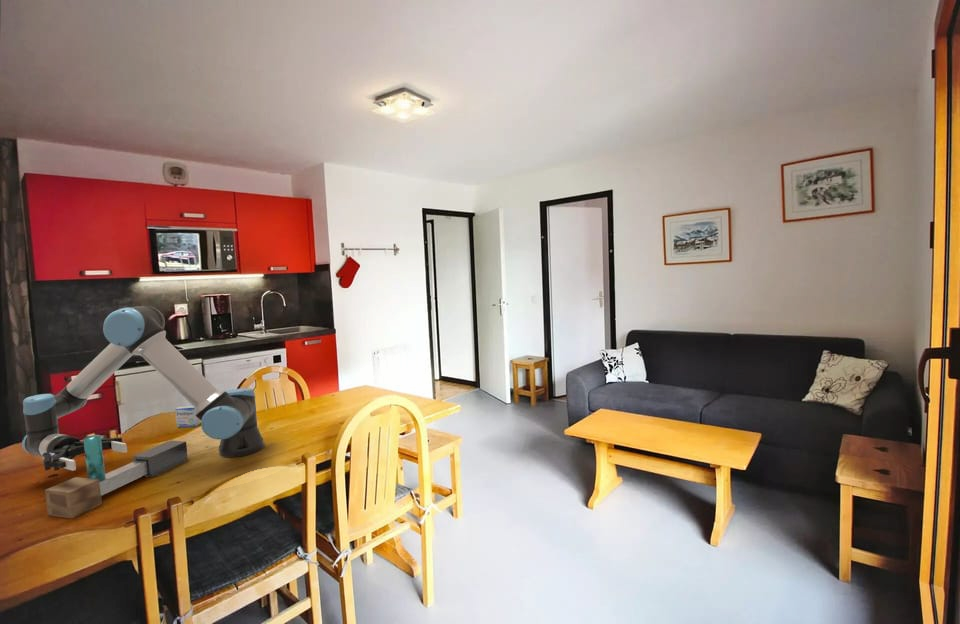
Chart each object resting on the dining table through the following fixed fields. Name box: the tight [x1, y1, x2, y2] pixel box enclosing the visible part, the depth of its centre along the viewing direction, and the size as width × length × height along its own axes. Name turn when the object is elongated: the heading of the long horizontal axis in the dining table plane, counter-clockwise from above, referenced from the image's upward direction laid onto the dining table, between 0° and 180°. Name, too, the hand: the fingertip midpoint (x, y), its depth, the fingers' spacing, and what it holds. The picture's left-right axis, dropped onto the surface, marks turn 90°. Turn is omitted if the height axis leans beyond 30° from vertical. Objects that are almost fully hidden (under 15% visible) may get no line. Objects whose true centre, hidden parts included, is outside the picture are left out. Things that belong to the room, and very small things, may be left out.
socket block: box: [44, 476, 103, 519], centre depth 134 cm, size 8×9×8 cm
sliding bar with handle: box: [82, 434, 149, 497], centre depth 144 cm, size 23×4×18 cm, turn 166°
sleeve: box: [132, 440, 189, 478], centre depth 161 cm, size 14×7×7 cm, turn 166°
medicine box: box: [174, 405, 201, 429], centre depth 206 cm, size 8×4×9 cm, turn 99°
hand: (100, 456), depth 138 cm, fingers open, 13 cm apart
